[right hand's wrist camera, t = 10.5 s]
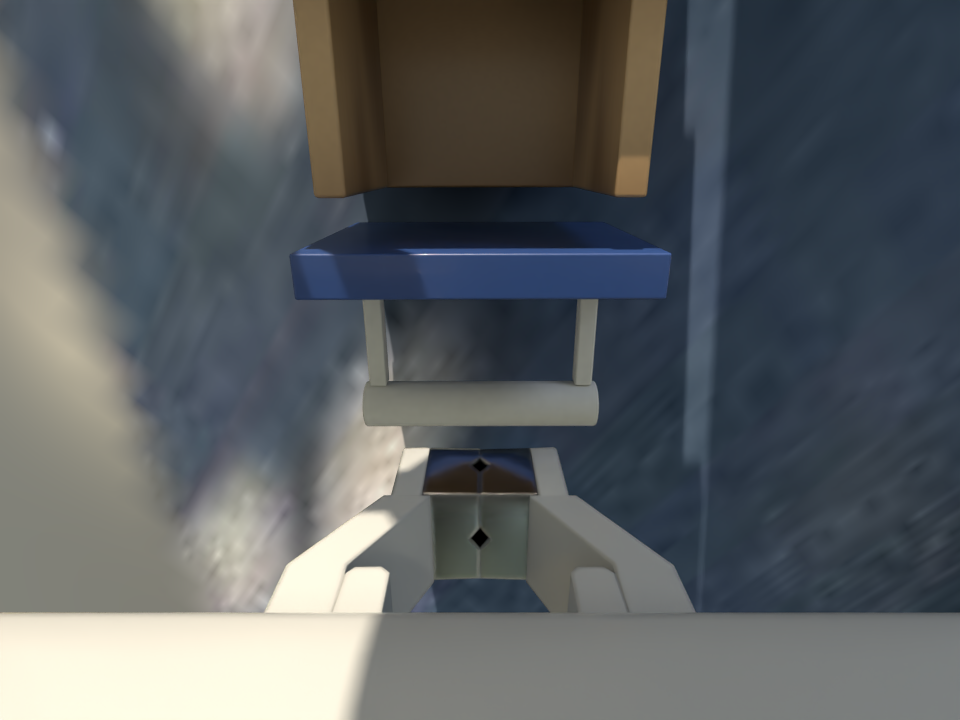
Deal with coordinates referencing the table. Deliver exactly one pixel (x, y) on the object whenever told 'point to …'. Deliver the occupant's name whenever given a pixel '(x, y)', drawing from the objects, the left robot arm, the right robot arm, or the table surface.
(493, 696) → the right robot arm
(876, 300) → the table surface
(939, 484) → the table surface
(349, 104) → the drawer
